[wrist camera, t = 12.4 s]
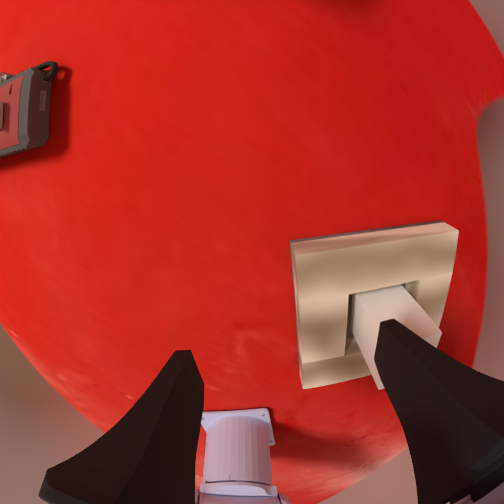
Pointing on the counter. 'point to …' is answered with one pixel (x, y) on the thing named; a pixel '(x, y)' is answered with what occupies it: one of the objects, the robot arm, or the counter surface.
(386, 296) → the white rectangular block
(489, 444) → the robot arm
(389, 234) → the holder block
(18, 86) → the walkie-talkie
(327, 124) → the counter surface
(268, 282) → the counter surface
